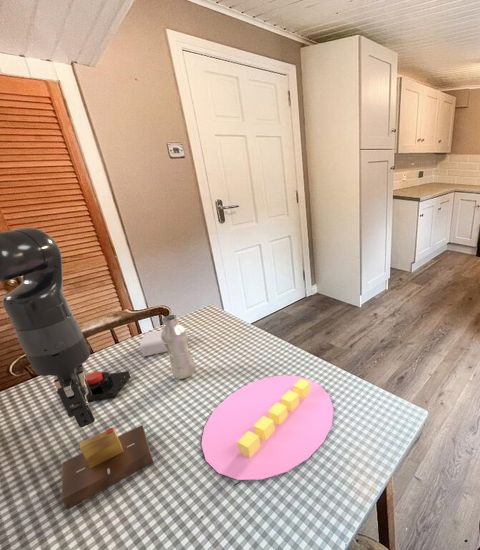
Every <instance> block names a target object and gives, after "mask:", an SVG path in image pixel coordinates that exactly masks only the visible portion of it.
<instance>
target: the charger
mask: <svg viewBox="0 0 480 550" xmlns="http://www.w3.org/2000/svg"><path fill="white" fill-rule="evenodd" d="M162 331H163V329H162V330H156V331H151V332H146V333H145V332H144V333H143V336H142V339H141V342H140V345H139V348H140V352H141V355H142V357H143V358H144V357H148V356H153V355H157V354H162V353H168V351H167V349H166V347H165V345H164V343H163V341H162V339H161V333H162ZM186 332H187V341H188V338H191V337H194V332H189V331H186Z"/></svg>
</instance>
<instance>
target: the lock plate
mask: <svg viewBox="0 0 480 550" xmlns="http://www.w3.org/2000/svg"><path fill="white" fill-rule="evenodd" d="M117 436H118V438H119V440H120V443H121V445H122V448H123V452H122V453H120V454H118V455H116V456H114V457H112V458H110V459H108V460H106V461H104V462H102V463H100V464H98V465H96V466H94V467H92V468H90V467H89V465H88V463H87V461H86V459H85V457H84V455H83V453H82V452H81V453H79V454H78V455H75V456H73V457H71V458H69V459H67V460H65V461H62V474H61V475H62V478H61V479H62V483H61V501H62V502H63V504H64V505H65V507H66V509H67V510H69V509H72V508H73V507H75V506H77V505H78V504H80V503H81V504H82V503H83V502H84V501H86V500H89V498H92V497H94V496H95V495H97V494H100V493H101V492H102V491H104V490H107V489H108V488H110V487H112V486H113V485H116V484H117V483H120V482H121V481H123V480H124V479H126V478H129V477H130V476H132V475H133V474H135V473H138V472H139V471H141V470H143V469H144V468H146V467H148V466H150V465H152V464H153V463H154V462H155V461H154V458H153V454H152V450H151V447H150V444H149V439H148V437H147V432H146V430H145V428H144V425H143V424H141V425H139V426H137V427H135V428H133V429H131V430H129V431H126V432H124V433H123V434H122V433H121V434H120V435H117Z"/></svg>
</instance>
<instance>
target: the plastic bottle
mask: <svg viewBox="0 0 480 550" xmlns="http://www.w3.org/2000/svg"><path fill="white" fill-rule="evenodd" d="M161 321H162V326H163V329H162V330H163V331H162V333H161V339H162V341H163V343H164V345H165V347H166V349H167V354H168V358H169V363H170V372H171V374H172V376H173V377H174V378H176V379H179V380H183V379H187V378H189V377H191V376H192V375H193V374H194V373H195V372H196V367H197V366H196V362H195V360H194V358H193V356H192V354H191V351H190V348H189V343H188V340H187V332H188V331H187V329H186V328H185V327H184V325H182V324H180V323H179V319H178V316H177V315H176V314H169V315H166V316H163V317H162V318H161Z"/></svg>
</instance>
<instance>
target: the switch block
mask: <svg viewBox="0 0 480 550" xmlns="http://www.w3.org/2000/svg"><path fill="white" fill-rule="evenodd" d="M100 372H101V373H102V375H103V379H102V380H101V381H99V382H98V383H95V384H91V385H88V386H89V388H90V390H91V392H92V397H91V398H89V399H87V401H88V402H89V403H94V402H100V401H101V402H102V401H106V400H107V401H108V400H115V399H116V398H117V396H118V395H119V394H120V392H121V391H122V390H123V388H124V387H125V386H126V384H127V383H128V381H129V380H130V379H131V374H130V371H128V370H127V371H120V372H112V373H110V372H107V371H100ZM85 382H86V381H85ZM78 404H81V403H80V402H78V403H75V404H74V405H78Z"/></svg>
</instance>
